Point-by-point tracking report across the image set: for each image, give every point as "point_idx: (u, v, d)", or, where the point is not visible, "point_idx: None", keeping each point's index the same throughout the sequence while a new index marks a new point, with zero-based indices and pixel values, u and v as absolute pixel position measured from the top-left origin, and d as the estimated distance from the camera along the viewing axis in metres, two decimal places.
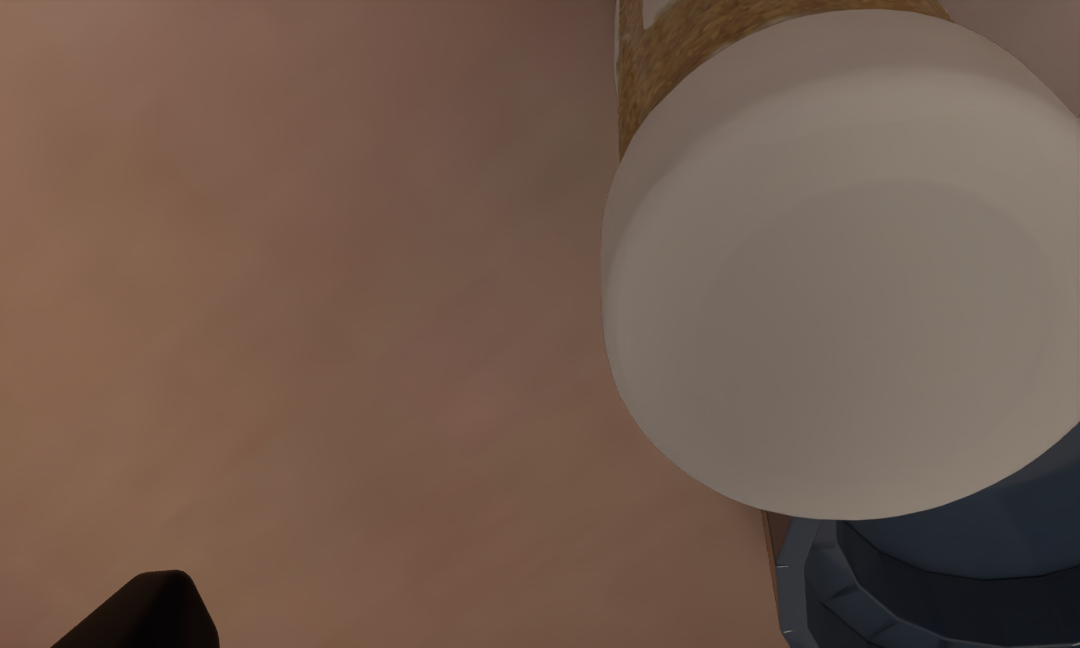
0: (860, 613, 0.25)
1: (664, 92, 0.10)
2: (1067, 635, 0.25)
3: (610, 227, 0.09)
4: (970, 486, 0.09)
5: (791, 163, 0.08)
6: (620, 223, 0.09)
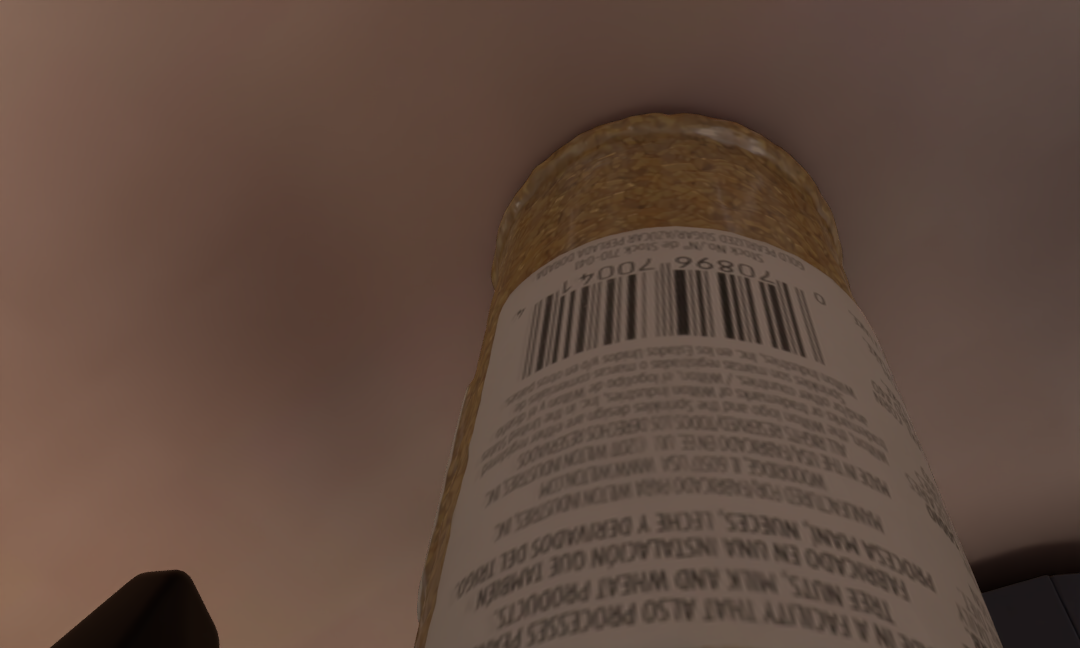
0: None
1: None
2: None
3: None
4: None
5: None
6: None
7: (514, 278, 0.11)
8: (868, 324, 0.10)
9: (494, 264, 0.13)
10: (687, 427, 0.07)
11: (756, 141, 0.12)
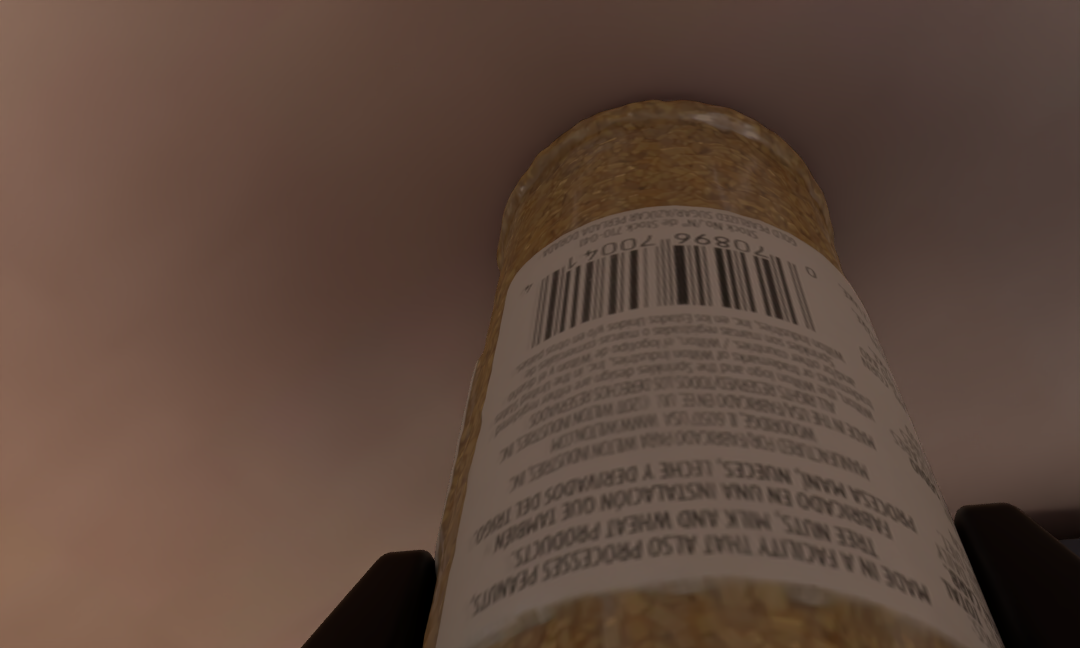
0: None
1: None
2: None
3: None
4: None
5: None
6: None
7: (520, 257, 0.11)
8: (857, 297, 0.10)
9: (499, 246, 0.14)
10: (687, 386, 0.07)
11: (750, 126, 0.13)
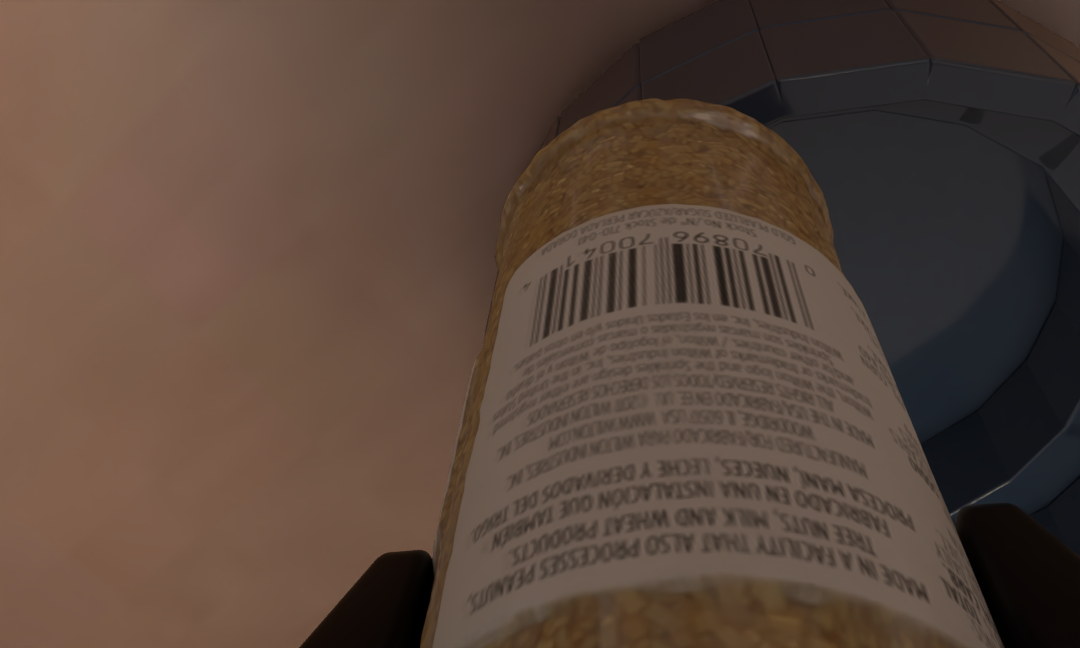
0: None
1: None
2: None
3: None
4: None
5: None
6: None
7: (519, 255, 0.11)
8: (856, 296, 0.10)
9: (498, 245, 0.14)
10: (686, 384, 0.07)
11: (750, 125, 0.13)
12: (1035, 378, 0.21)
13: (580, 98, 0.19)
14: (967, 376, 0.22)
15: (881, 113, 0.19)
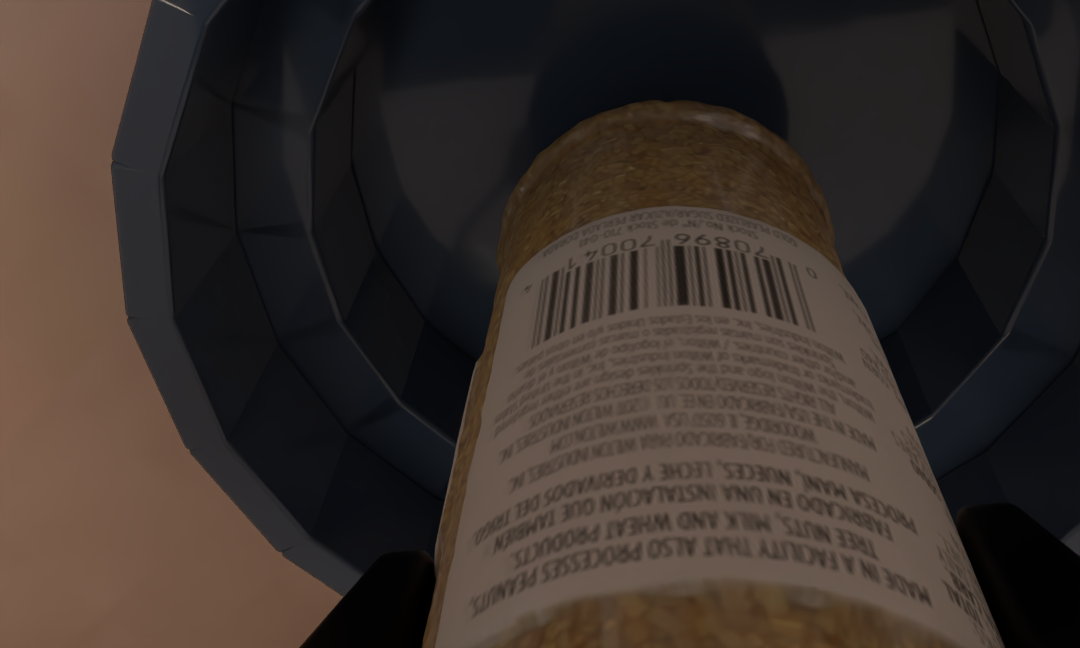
0: (415, 451, 0.16)
1: None
2: None
3: None
4: None
5: None
6: None
7: (520, 257, 0.11)
8: (858, 298, 0.10)
9: (499, 247, 0.14)
10: (688, 387, 0.07)
11: (751, 126, 0.12)
12: (967, 277, 0.15)
13: None
14: (880, 282, 0.16)
15: None
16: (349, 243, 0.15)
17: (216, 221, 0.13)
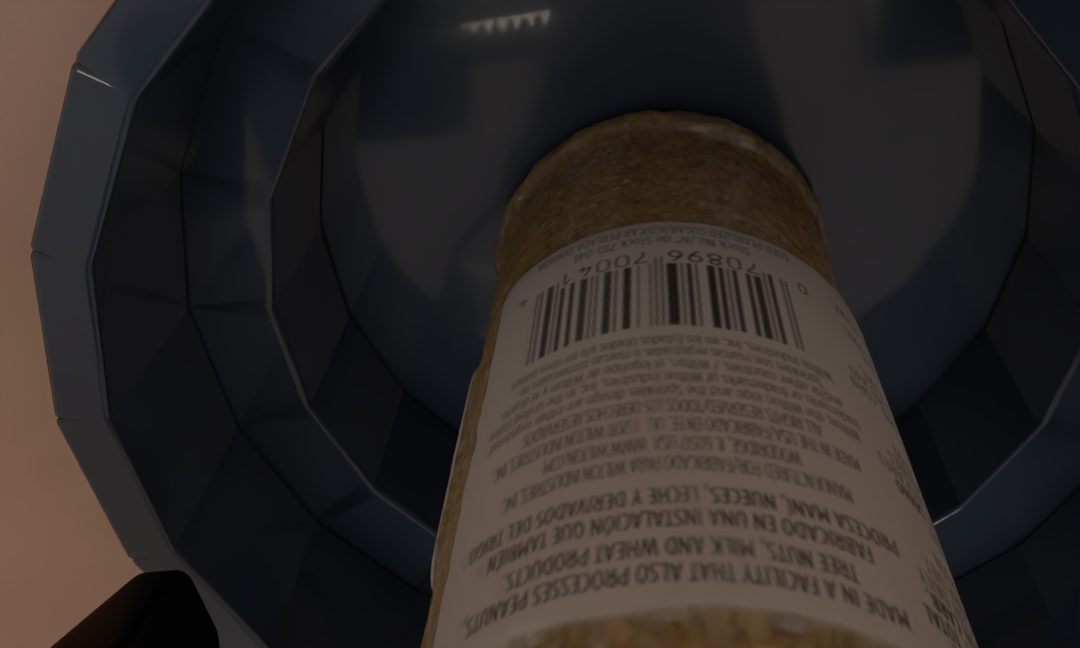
0: (391, 540, 0.14)
1: None
2: None
3: None
4: None
5: None
6: None
7: (517, 270, 0.11)
8: (849, 312, 0.10)
9: (497, 254, 0.14)
10: (678, 409, 0.08)
11: (746, 137, 0.13)
12: (998, 352, 0.14)
13: None
14: (901, 352, 0.15)
15: None
16: (317, 315, 0.14)
17: (162, 303, 0.12)
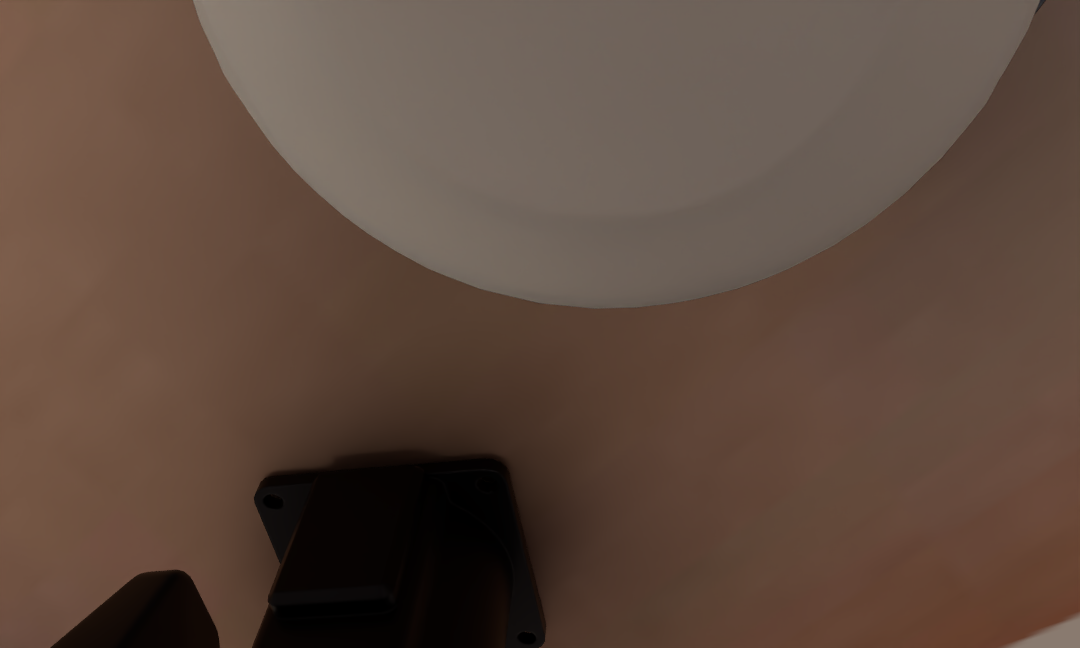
0: None
1: None
2: None
3: None
4: (803, 238, 0.06)
5: None
6: None
7: None
8: None
9: None
10: None
11: None
12: None
13: None
14: None
15: None
16: None
17: None
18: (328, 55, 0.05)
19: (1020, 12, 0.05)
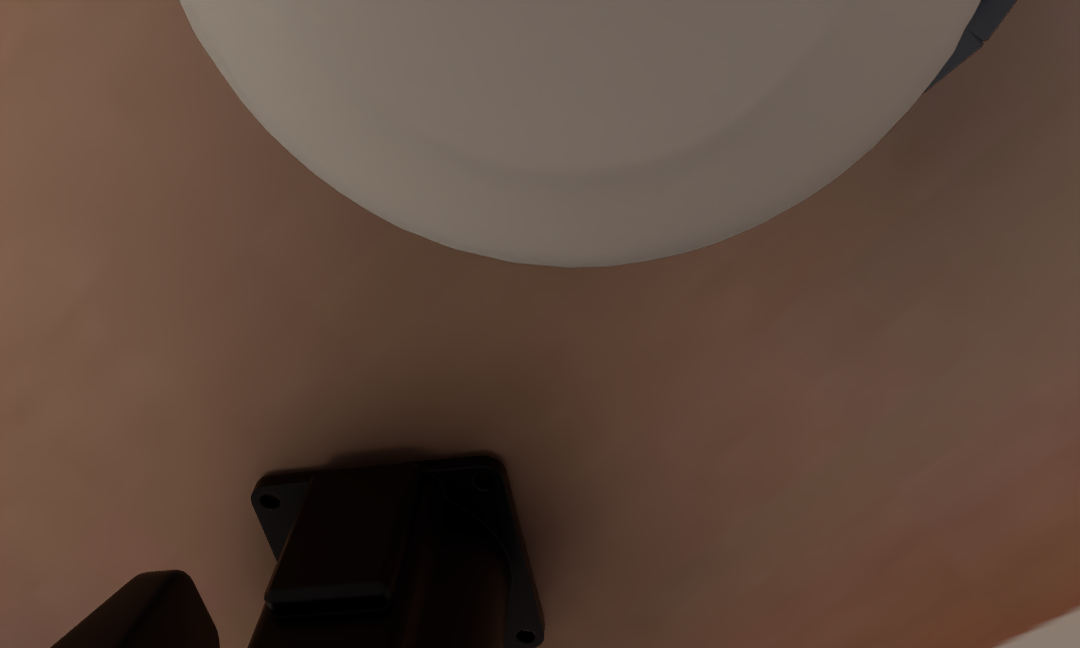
0: None
1: None
2: None
3: None
4: (774, 191, 0.06)
5: None
6: None
7: None
8: None
9: None
10: None
11: None
12: None
13: None
14: None
15: None
16: None
17: None
18: (296, 9, 0.05)
19: None
